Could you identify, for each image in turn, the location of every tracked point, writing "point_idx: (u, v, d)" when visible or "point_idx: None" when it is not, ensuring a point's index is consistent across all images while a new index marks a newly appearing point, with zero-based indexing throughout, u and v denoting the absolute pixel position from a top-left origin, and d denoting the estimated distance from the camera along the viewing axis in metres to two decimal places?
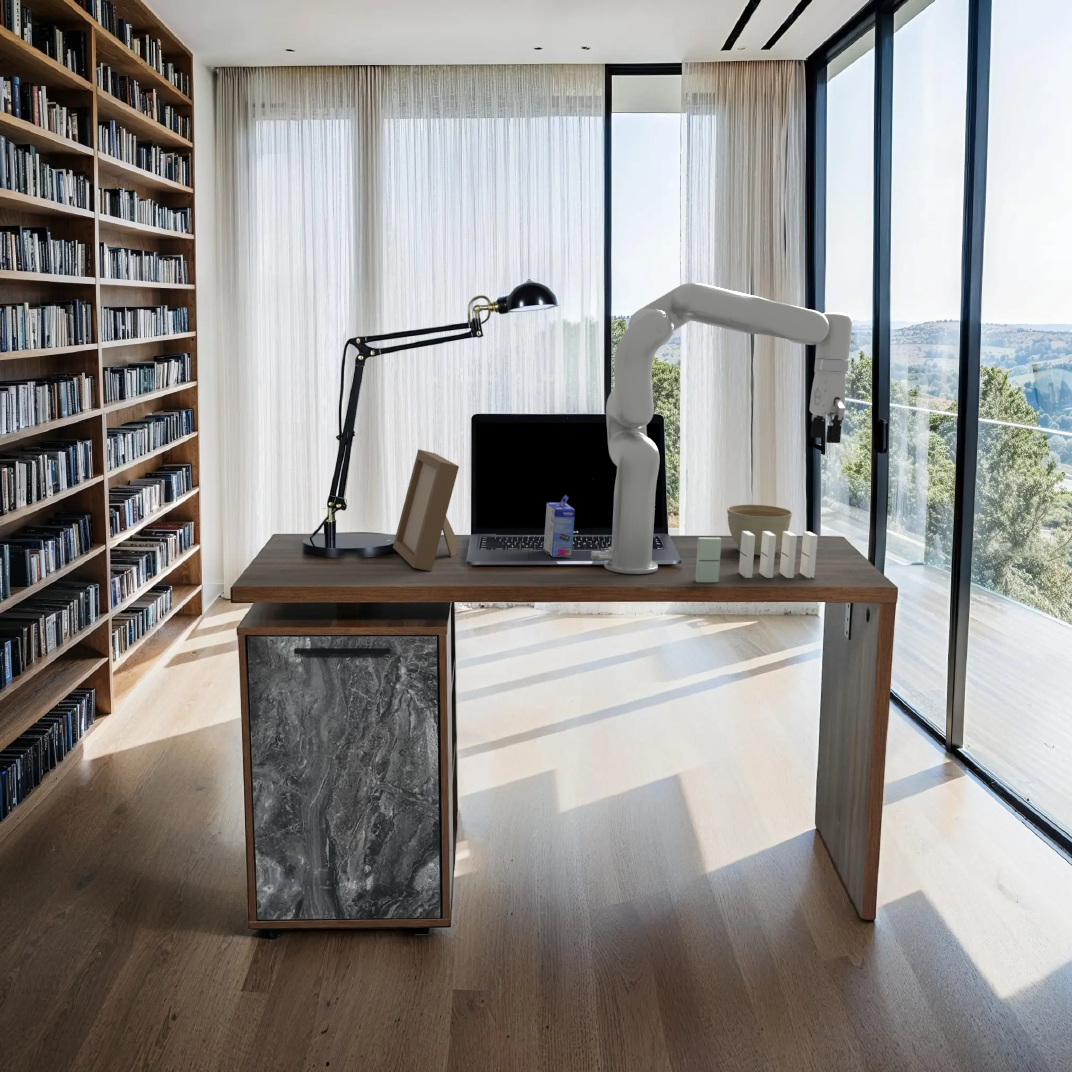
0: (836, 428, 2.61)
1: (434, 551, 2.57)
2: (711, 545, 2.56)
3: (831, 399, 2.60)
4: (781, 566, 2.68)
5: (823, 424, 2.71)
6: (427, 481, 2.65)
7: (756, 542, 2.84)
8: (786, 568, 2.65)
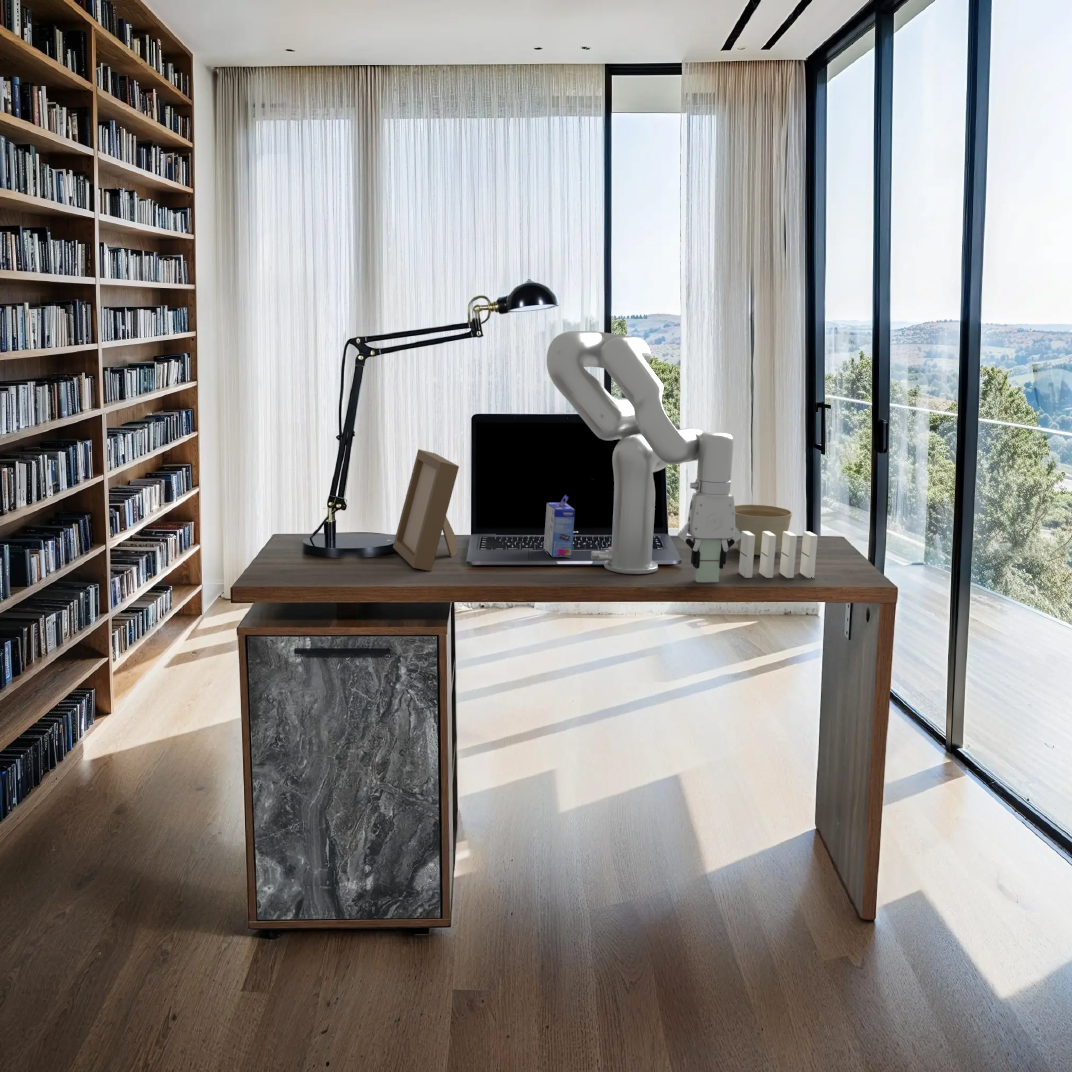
0: None
1: (434, 551, 2.57)
2: (711, 545, 2.56)
3: None
4: (781, 566, 2.68)
5: None
6: (427, 481, 2.65)
7: (756, 542, 2.84)
8: (786, 568, 2.65)
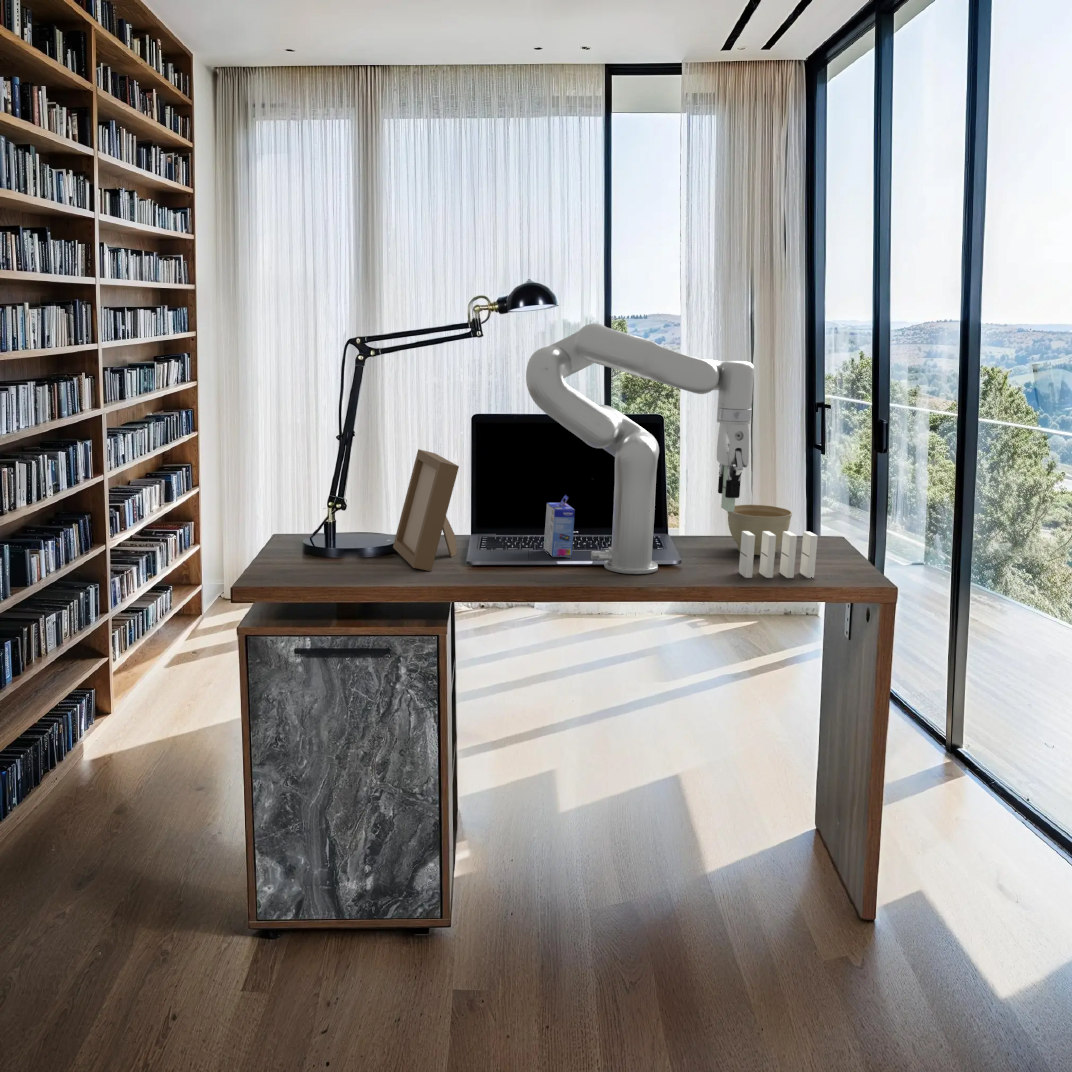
0: None
1: (434, 551, 2.57)
2: None
3: None
4: (781, 566, 2.68)
5: None
6: (427, 481, 2.65)
7: (756, 542, 2.84)
8: (786, 568, 2.65)
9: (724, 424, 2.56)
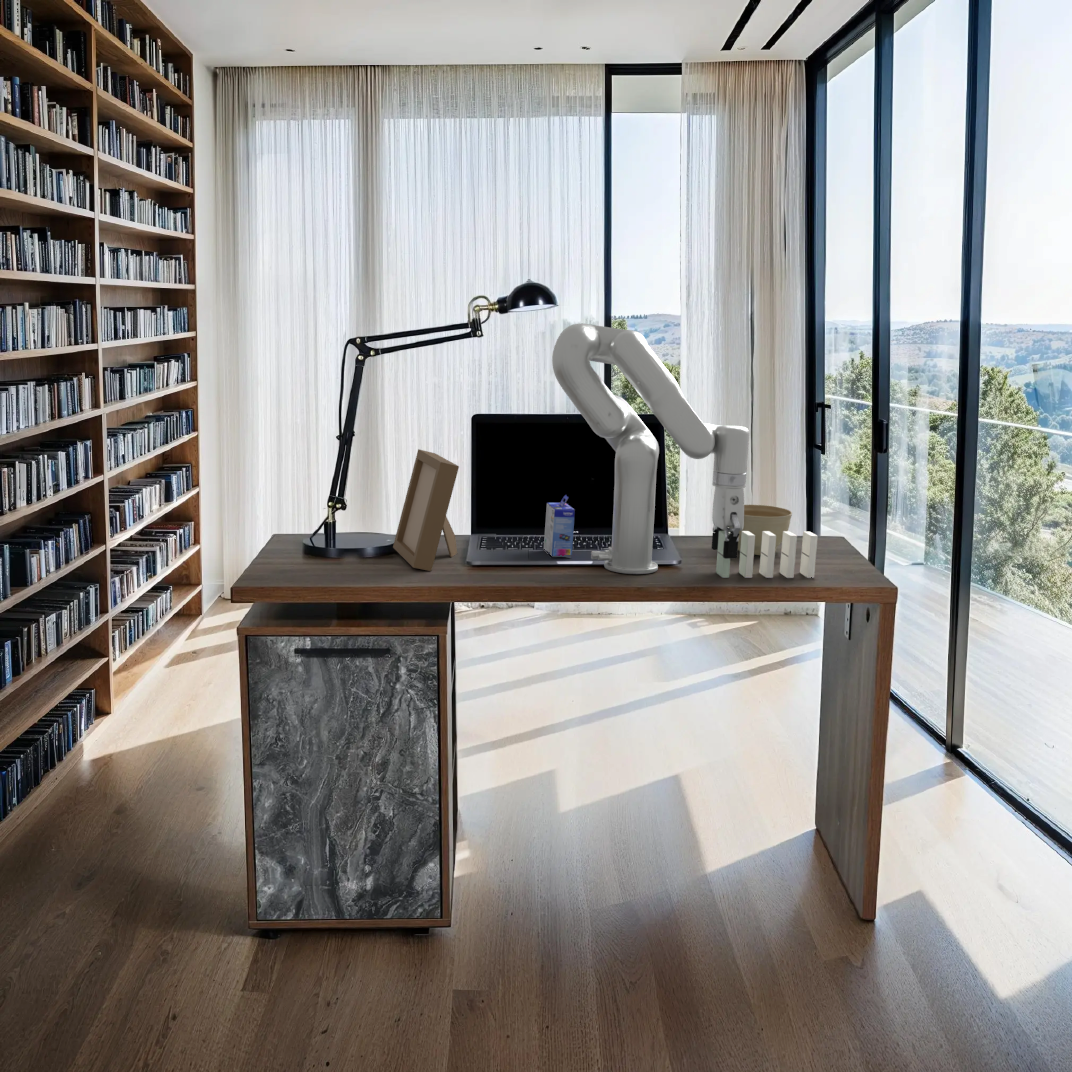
0: None
1: (434, 551, 2.57)
2: None
3: None
4: (781, 566, 2.68)
5: None
6: (427, 481, 2.65)
7: (756, 542, 2.84)
8: (786, 568, 2.65)
9: (719, 488, 2.59)
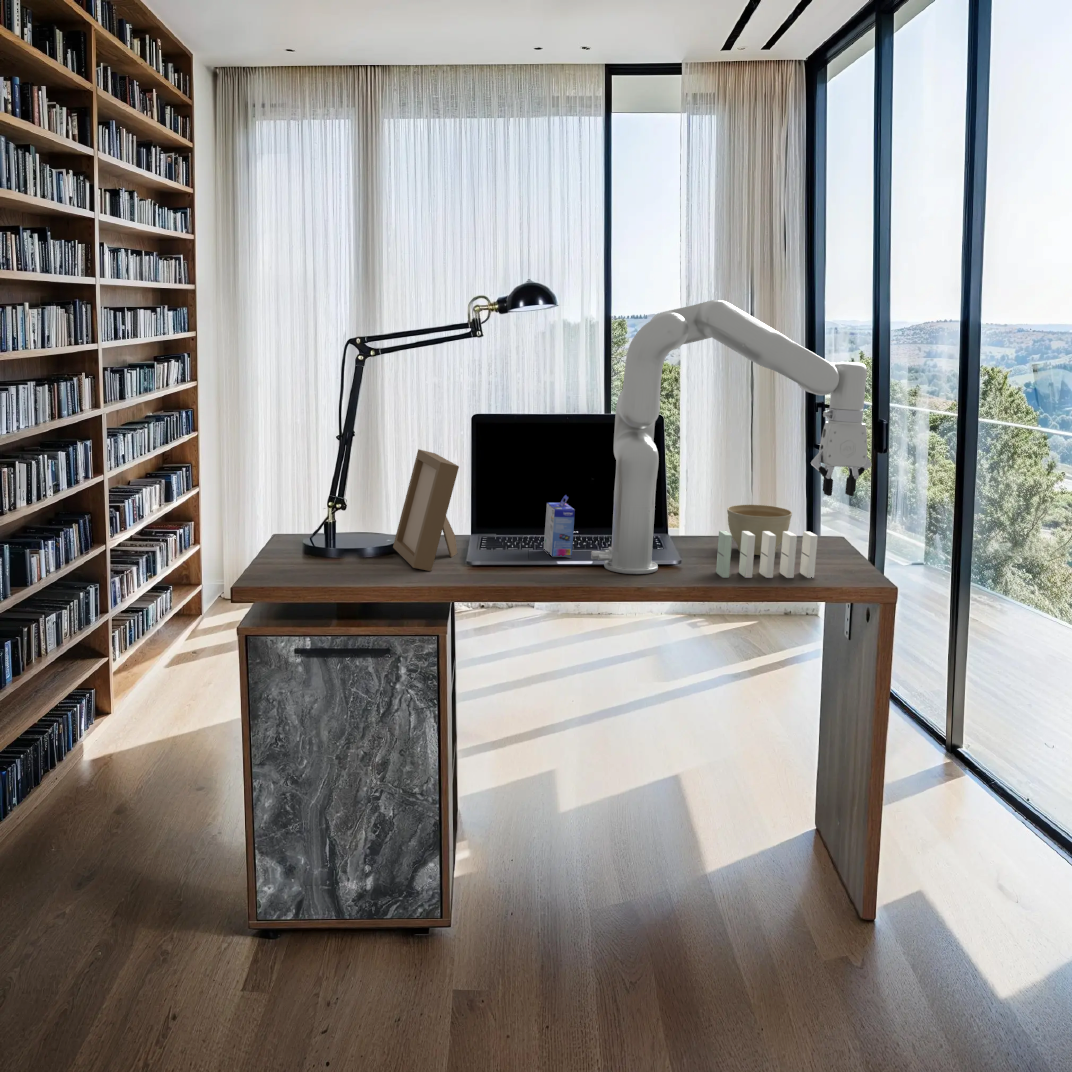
0: None
1: (434, 551, 2.57)
2: None
3: None
4: (781, 566, 2.68)
5: None
6: (427, 481, 2.65)
7: (756, 542, 2.84)
8: (786, 568, 2.65)
9: None
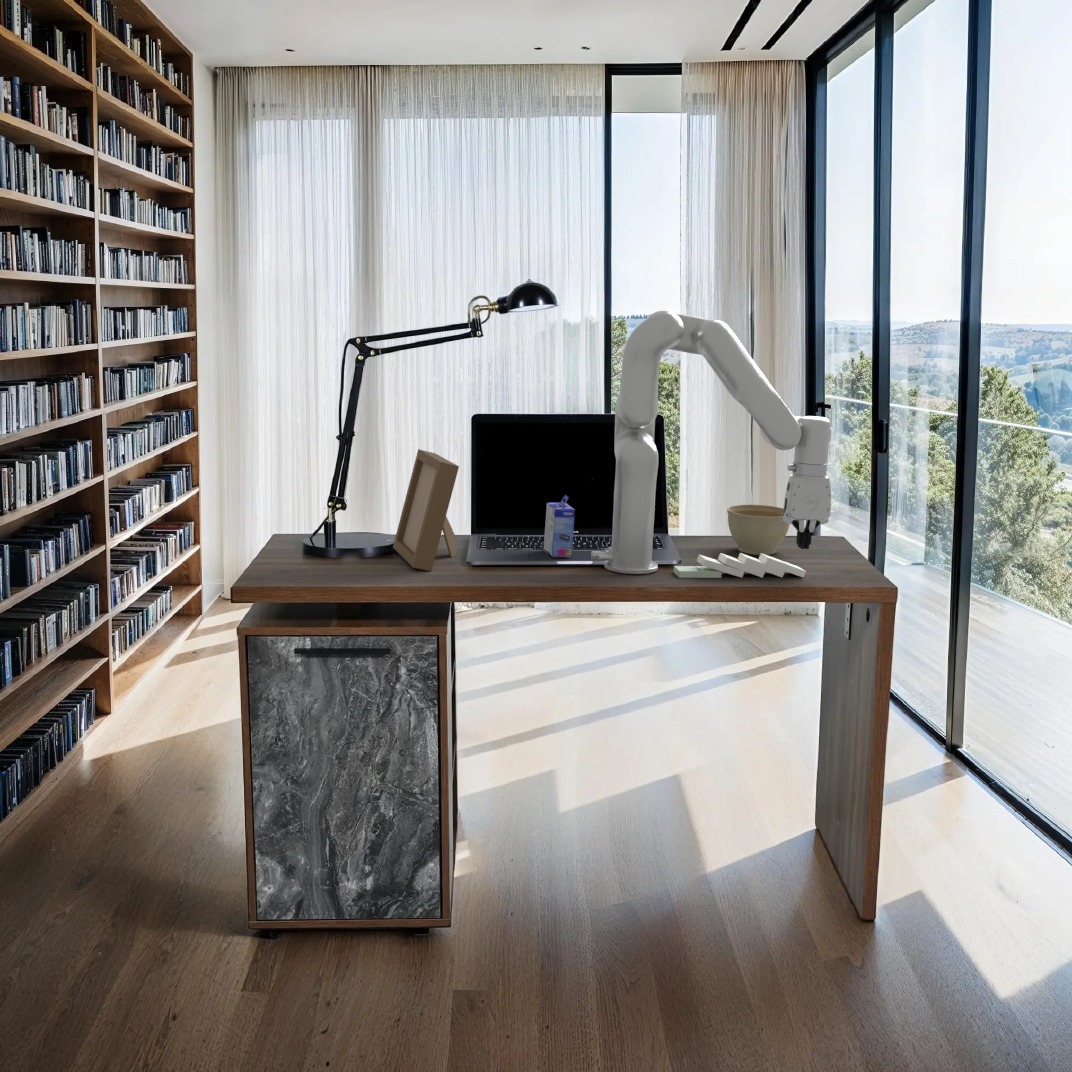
0: None
1: (434, 551, 2.57)
2: (682, 568, 2.63)
3: None
4: None
5: None
6: (427, 481, 2.65)
7: (756, 542, 2.84)
8: None
9: None
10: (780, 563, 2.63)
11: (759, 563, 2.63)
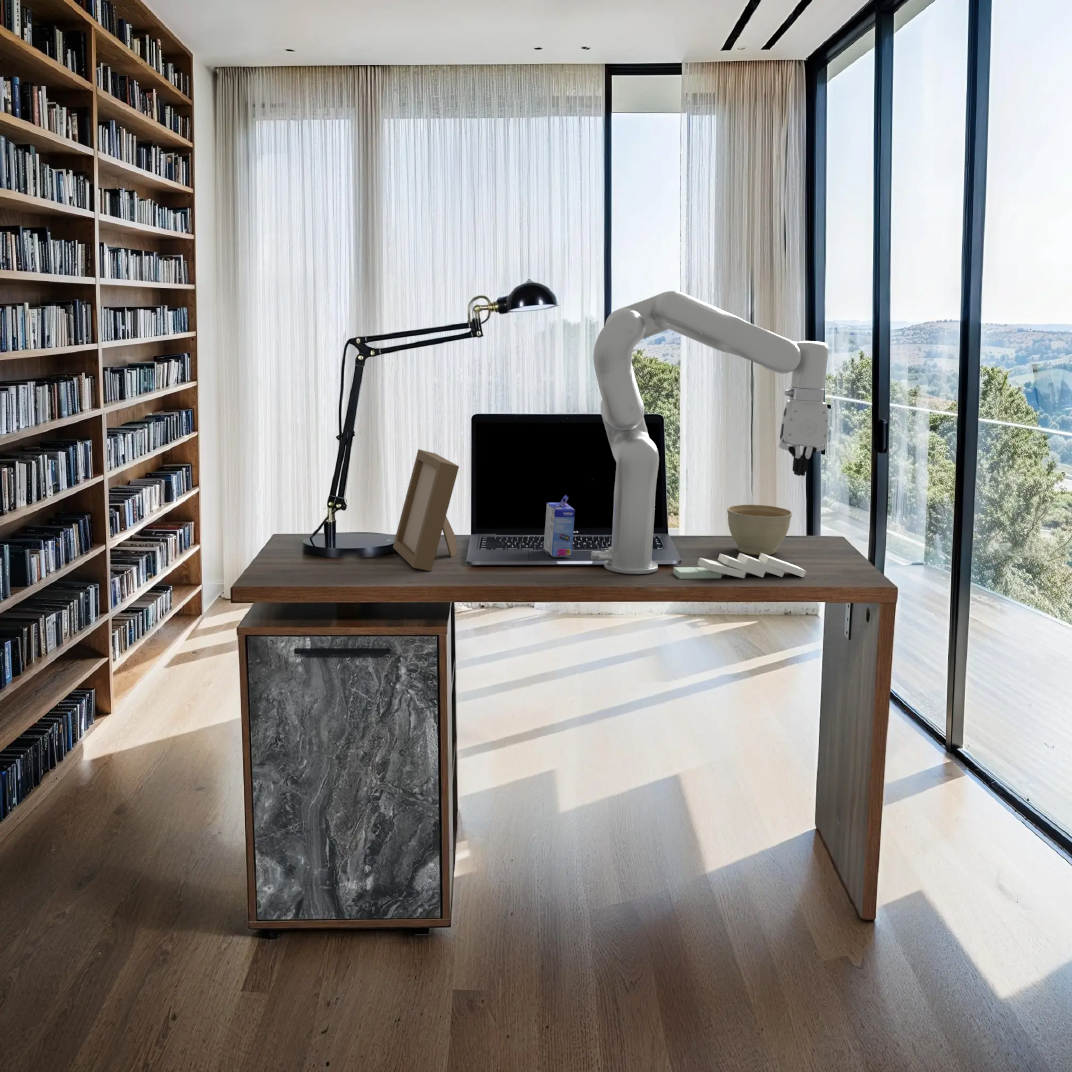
0: None
1: (434, 551, 2.57)
2: (682, 569, 2.63)
3: None
4: None
5: None
6: (427, 481, 2.65)
7: (756, 542, 2.84)
8: (773, 573, 2.65)
9: None
10: (780, 563, 2.63)
11: (760, 563, 2.63)
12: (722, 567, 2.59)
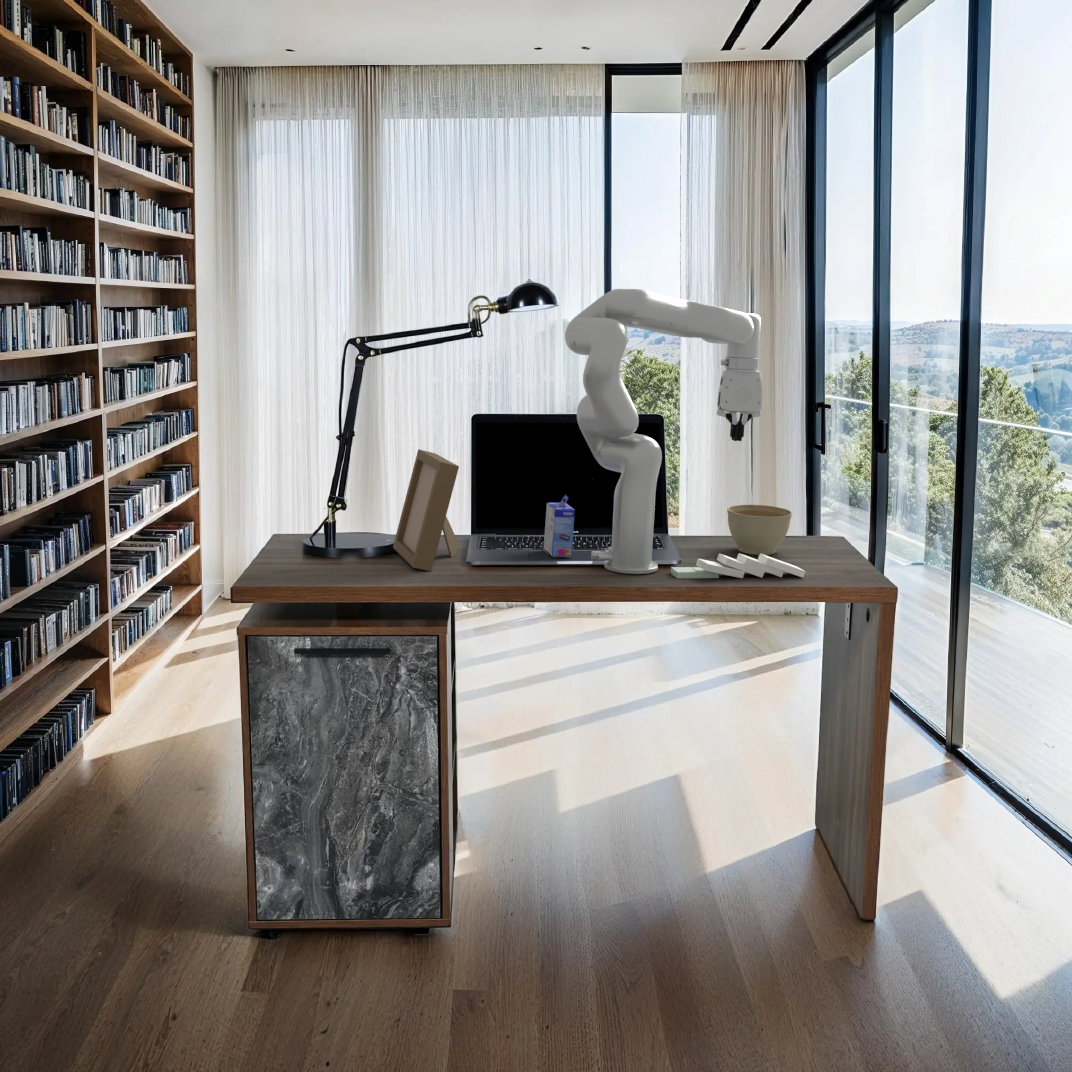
0: None
1: (434, 551, 2.57)
2: (680, 569, 2.63)
3: None
4: None
5: None
6: (427, 481, 2.65)
7: (756, 542, 2.84)
8: (772, 573, 2.65)
9: None
10: (780, 563, 2.63)
11: (759, 563, 2.62)
12: (720, 568, 2.59)
